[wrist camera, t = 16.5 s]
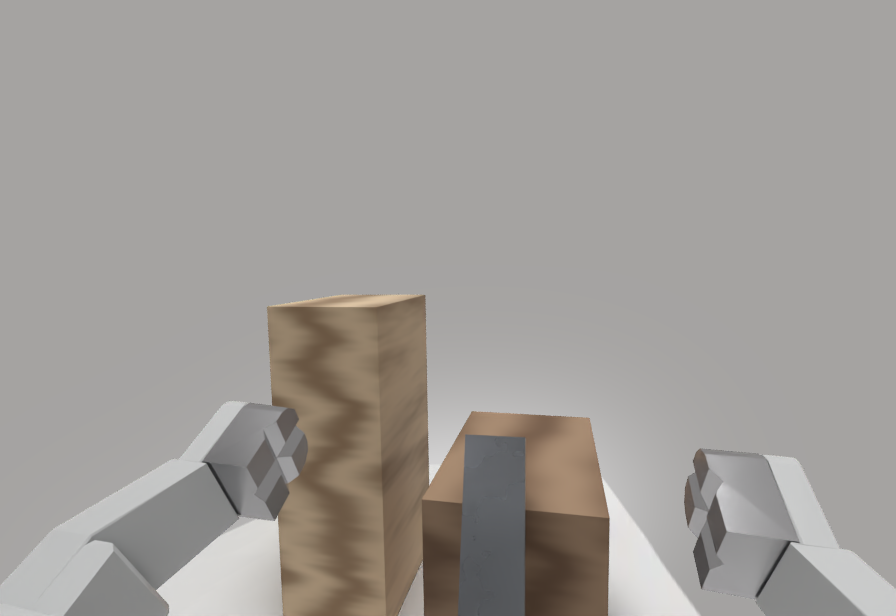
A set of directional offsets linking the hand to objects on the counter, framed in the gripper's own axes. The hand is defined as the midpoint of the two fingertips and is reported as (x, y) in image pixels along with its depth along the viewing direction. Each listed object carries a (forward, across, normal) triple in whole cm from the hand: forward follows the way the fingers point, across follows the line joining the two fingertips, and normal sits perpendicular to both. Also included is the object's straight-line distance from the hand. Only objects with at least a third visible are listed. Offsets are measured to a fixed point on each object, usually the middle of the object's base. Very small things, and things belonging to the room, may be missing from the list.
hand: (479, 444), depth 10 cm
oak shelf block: (+13, +15, +37) cm, 42 cm away
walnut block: (+8, 0, +34) cm, 34 cm away
